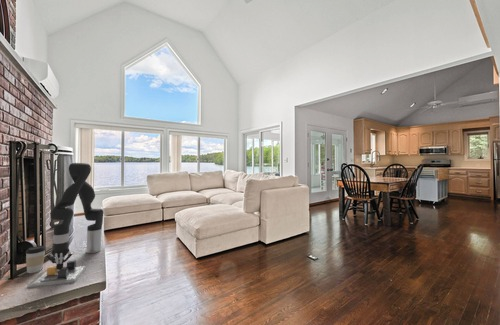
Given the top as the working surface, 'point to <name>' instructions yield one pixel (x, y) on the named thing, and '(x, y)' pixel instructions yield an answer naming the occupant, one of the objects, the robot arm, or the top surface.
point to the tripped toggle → (51, 270)
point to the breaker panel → (66, 280)
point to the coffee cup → (35, 258)
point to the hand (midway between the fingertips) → (59, 269)
